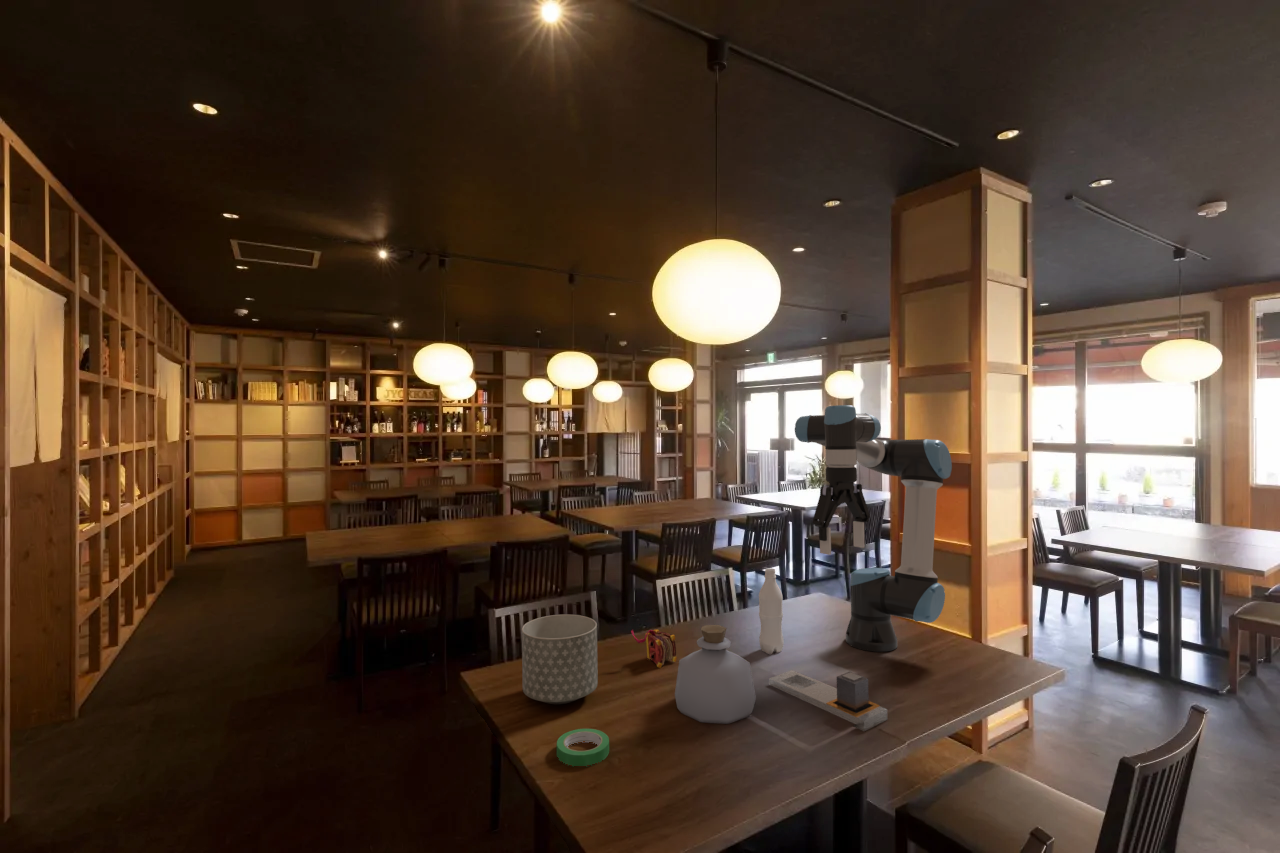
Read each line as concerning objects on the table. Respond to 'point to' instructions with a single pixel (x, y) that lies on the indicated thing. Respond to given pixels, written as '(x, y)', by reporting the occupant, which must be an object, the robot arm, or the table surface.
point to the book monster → (659, 646)
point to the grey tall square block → (852, 692)
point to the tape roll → (585, 756)
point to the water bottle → (770, 614)
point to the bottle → (714, 681)
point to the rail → (827, 699)
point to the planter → (559, 658)
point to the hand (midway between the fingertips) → (842, 550)
